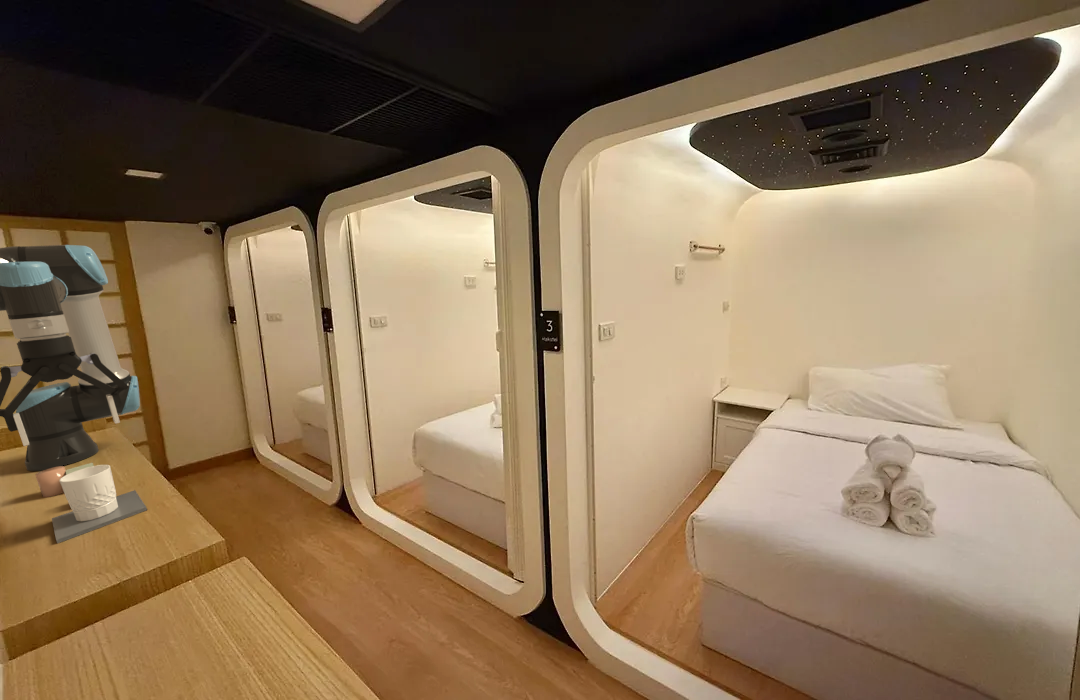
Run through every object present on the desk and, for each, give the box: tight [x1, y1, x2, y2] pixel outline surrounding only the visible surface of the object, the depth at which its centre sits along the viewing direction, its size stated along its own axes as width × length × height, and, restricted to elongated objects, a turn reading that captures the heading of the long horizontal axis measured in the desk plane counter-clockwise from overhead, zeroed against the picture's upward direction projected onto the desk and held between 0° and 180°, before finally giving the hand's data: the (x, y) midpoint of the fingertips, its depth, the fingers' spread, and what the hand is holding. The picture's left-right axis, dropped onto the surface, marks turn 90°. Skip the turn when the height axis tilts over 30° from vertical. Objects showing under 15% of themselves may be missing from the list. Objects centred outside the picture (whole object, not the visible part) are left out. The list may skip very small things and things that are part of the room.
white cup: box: [59, 464, 118, 522], centre depth 95 cm, size 8×8×10 cm
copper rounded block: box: [35, 465, 67, 498], centre depth 110 cm, size 5×5×6 cm
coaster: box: [51, 489, 148, 544], centre depth 97 cm, size 14×14×1 cm
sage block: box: [65, 462, 95, 475], centre depth 112 cm, size 5×5×5 cm
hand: (74, 432), depth 93 cm, fingers open, 13 cm apart
